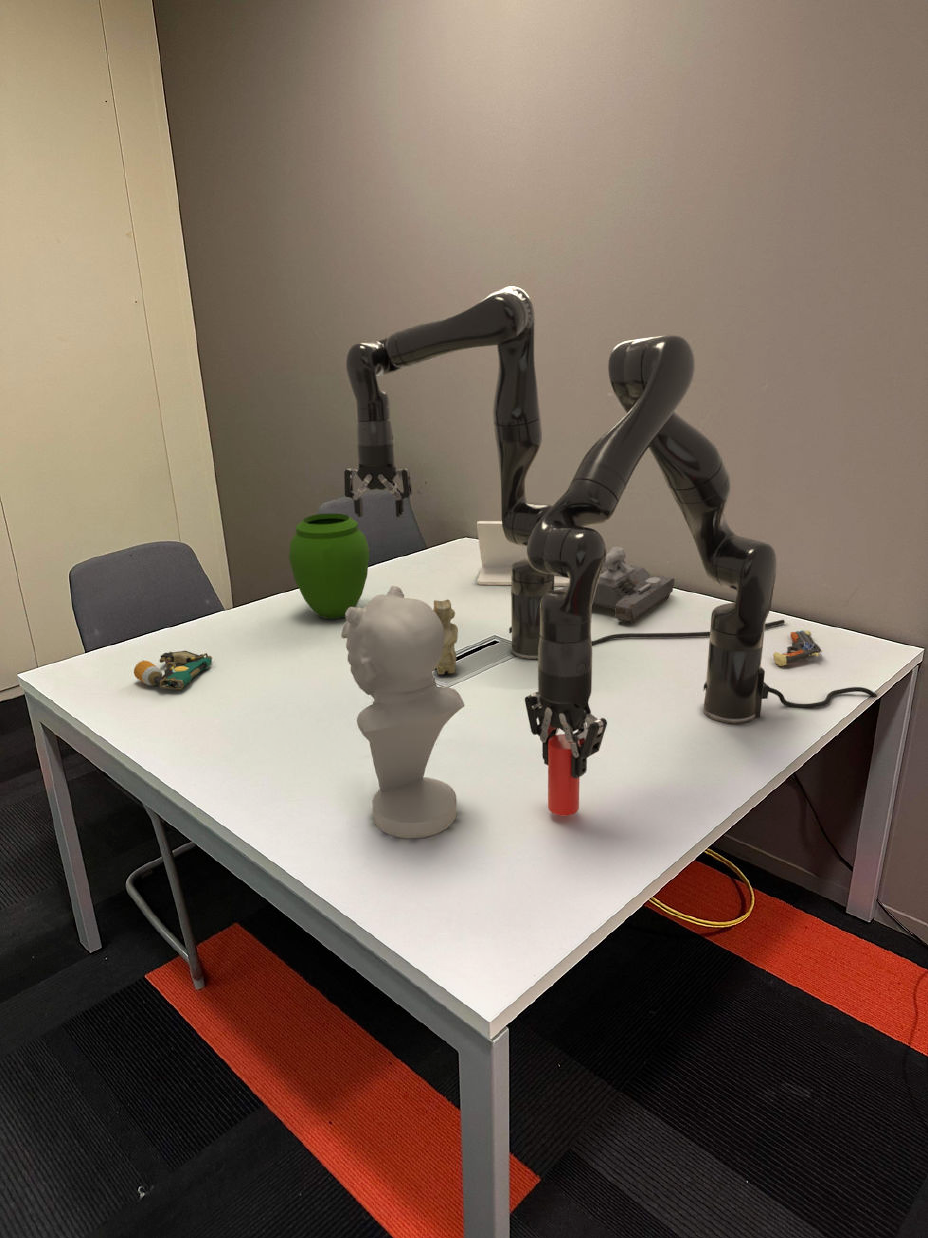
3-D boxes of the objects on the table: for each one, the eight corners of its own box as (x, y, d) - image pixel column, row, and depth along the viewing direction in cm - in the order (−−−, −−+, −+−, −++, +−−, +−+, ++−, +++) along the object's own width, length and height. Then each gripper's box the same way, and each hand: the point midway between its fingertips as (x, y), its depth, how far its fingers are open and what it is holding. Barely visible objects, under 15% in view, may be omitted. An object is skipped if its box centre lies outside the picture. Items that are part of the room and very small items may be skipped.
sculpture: (458, 662, 183) (456, 596, 178) (460, 676, 176) (457, 608, 171) (431, 663, 183) (428, 597, 177) (431, 677, 176) (428, 609, 171)
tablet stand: (569, 585, 229) (570, 524, 223) (476, 584, 232) (475, 523, 226) (570, 566, 246) (571, 508, 240) (484, 564, 249) (483, 507, 243)
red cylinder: (574, 818, 125) (575, 751, 121) (544, 812, 127) (544, 746, 123) (582, 802, 129) (583, 736, 125) (553, 796, 131) (553, 731, 127)
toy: (603, 584, 229) (605, 530, 224) (673, 597, 218) (677, 540, 213) (555, 612, 210) (556, 553, 205) (630, 627, 199) (633, 566, 194)
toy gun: (776, 657, 175) (828, 653, 173) (763, 629, 193) (810, 626, 191) (777, 669, 176) (828, 666, 174) (763, 640, 194) (810, 637, 191)
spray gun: (177, 659, 191) (231, 671, 185) (120, 684, 176) (176, 698, 171) (176, 641, 190) (230, 653, 184) (118, 665, 175) (174, 678, 169)
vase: (389, 608, 216) (383, 514, 208) (339, 633, 201) (330, 533, 192) (330, 596, 226) (322, 506, 218) (278, 619, 211) (267, 523, 202)
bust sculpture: (415, 752, 147) (404, 557, 135) (484, 821, 127) (478, 600, 115) (327, 777, 140) (307, 574, 128) (385, 855, 120) (368, 623, 108)
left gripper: (337, 444, 177) (343, 520, 183) (404, 443, 175) (408, 521, 181) (346, 438, 184) (352, 512, 190) (411, 438, 182) (415, 512, 188)
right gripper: (622, 670, 117) (618, 777, 123) (544, 642, 127) (544, 743, 133) (587, 687, 112) (585, 798, 119) (509, 657, 122) (511, 761, 128)
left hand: (379, 516), depth 186 cm, fingers open, 8 cm apart
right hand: (563, 769), depth 126 cm, fingers closed on red cylinder, 4 cm apart
